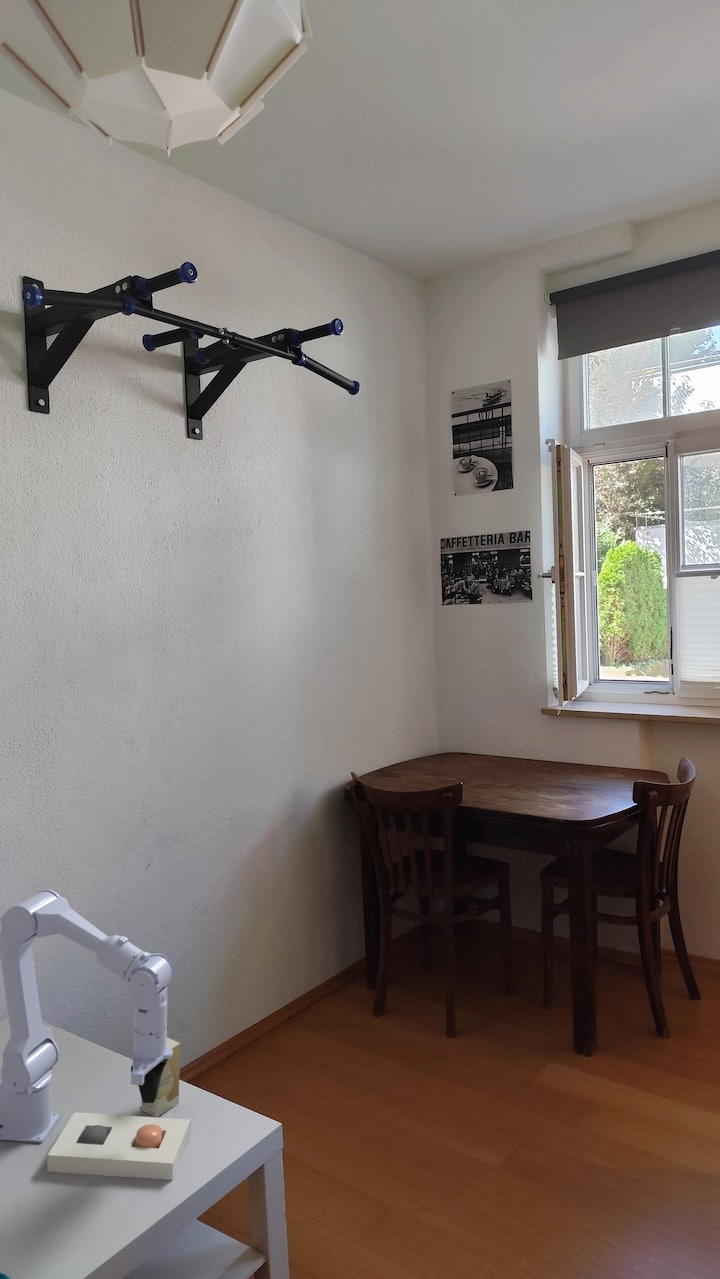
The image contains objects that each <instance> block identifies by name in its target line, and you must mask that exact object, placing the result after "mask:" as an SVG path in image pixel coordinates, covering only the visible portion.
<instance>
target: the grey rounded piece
mask: <svg viewBox="0 0 720 1279" xmlns="http://www.w3.org/2000/svg"><path fill="white" fill-rule="evenodd" d="M106 1138H107V1129H106V1128H105V1127H104V1126H101V1125H94V1126H90V1127H88V1128H86V1129H85V1130H84V1131H83V1132H82V1134H81V1144H96V1145H103V1144H104V1142H105V1140H106Z"/></svg>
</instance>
